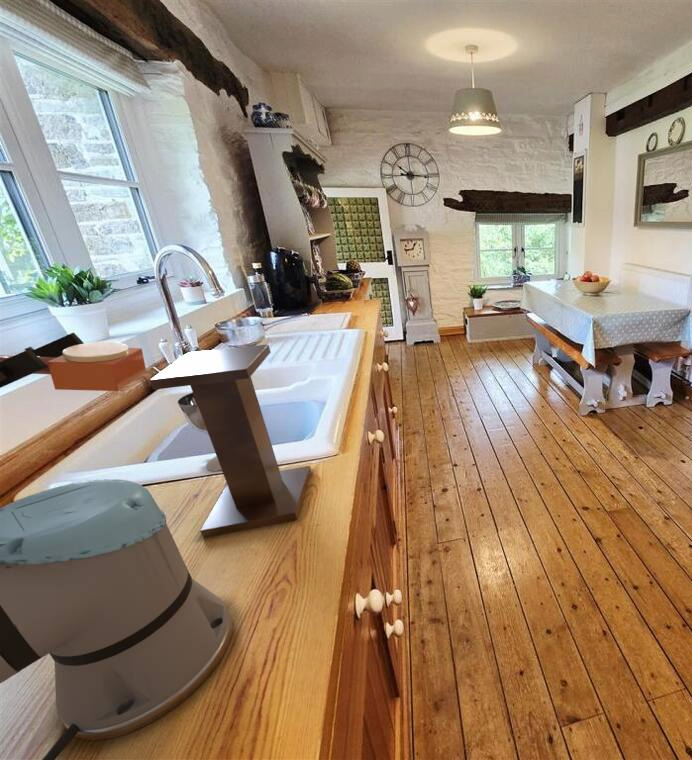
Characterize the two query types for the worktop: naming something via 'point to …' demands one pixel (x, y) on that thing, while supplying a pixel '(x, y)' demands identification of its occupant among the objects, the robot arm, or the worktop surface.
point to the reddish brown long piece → (94, 366)
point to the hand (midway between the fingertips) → (59, 349)
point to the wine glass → (196, 422)
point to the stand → (238, 439)
